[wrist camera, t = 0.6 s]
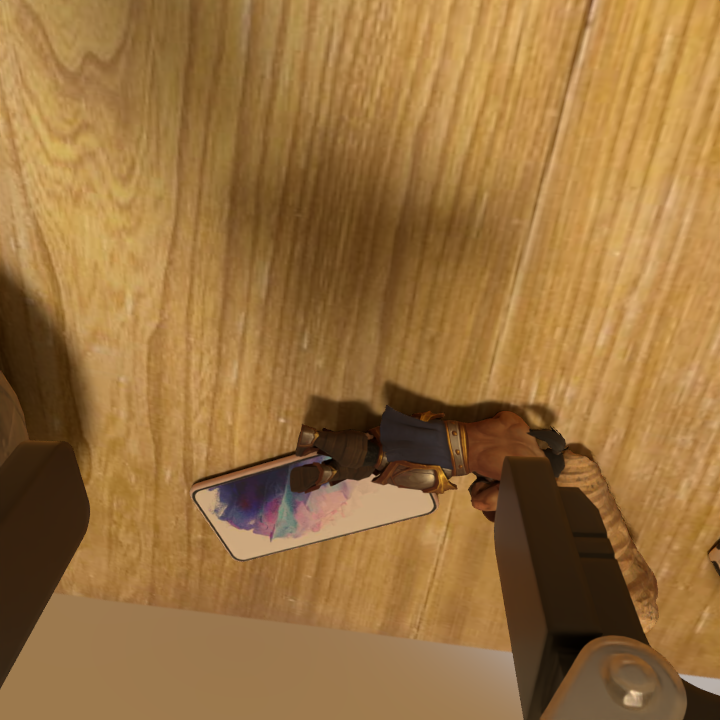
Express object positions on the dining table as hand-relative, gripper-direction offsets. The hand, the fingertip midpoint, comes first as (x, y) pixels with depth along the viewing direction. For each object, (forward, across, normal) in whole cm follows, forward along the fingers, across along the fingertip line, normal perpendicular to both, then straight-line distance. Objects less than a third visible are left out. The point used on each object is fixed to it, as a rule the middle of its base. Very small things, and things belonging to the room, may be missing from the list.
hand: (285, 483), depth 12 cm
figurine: (+19, +3, +14) cm, 24 cm away
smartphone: (+22, +3, +21) cm, 31 cm away
